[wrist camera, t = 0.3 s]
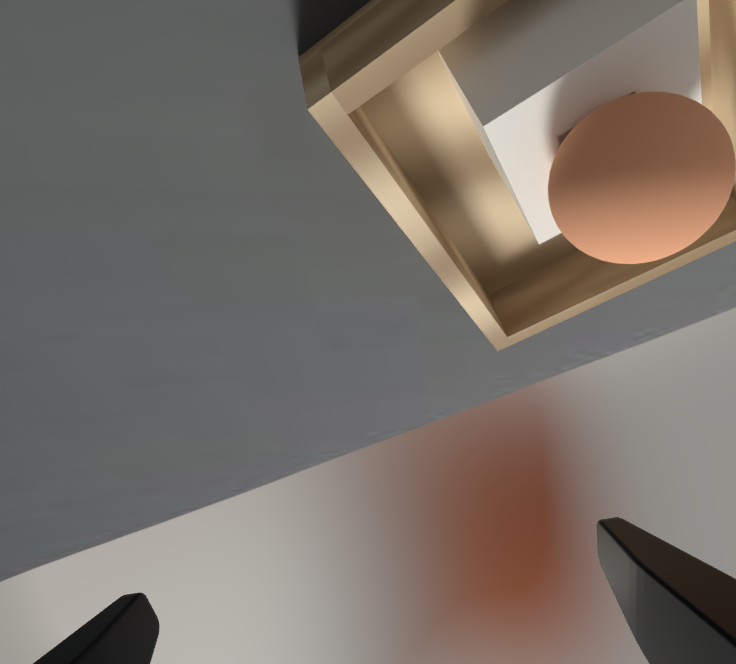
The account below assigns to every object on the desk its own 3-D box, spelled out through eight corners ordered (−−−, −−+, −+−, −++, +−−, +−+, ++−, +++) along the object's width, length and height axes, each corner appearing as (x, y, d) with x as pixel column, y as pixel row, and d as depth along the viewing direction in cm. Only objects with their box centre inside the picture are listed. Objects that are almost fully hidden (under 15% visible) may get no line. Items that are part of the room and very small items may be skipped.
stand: (427, 32, 16) (483, 126, 12) (581, -80, 14) (695, -8, 11) (483, 146, 19) (538, 244, 16) (611, 67, 18) (704, 157, 14)
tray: (298, 57, 16) (307, 109, 14) (724, -279, 12) (828, -276, 10) (478, 302, 27) (497, 351, 25) (727, 177, 23) (775, 222, 21)
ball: (497, 146, 13) (558, 248, 11) (645, 21, 11) (760, 110, 9) (563, 221, 16) (625, 317, 13) (693, 130, 14) (793, 223, 11)
